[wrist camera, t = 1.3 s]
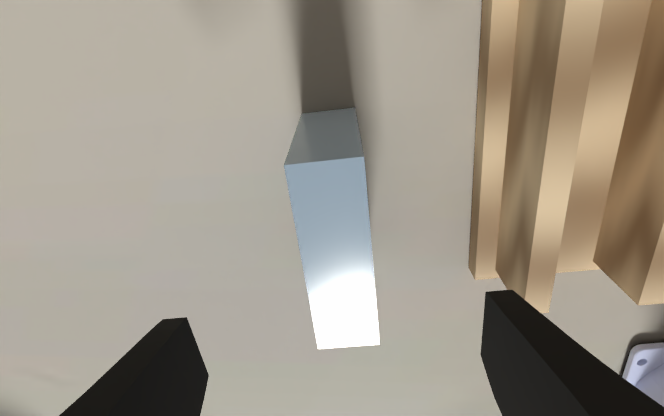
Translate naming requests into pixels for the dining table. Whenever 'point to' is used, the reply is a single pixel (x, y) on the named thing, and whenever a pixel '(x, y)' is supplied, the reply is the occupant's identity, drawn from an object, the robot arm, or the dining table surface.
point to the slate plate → (334, 227)
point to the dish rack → (570, 145)
